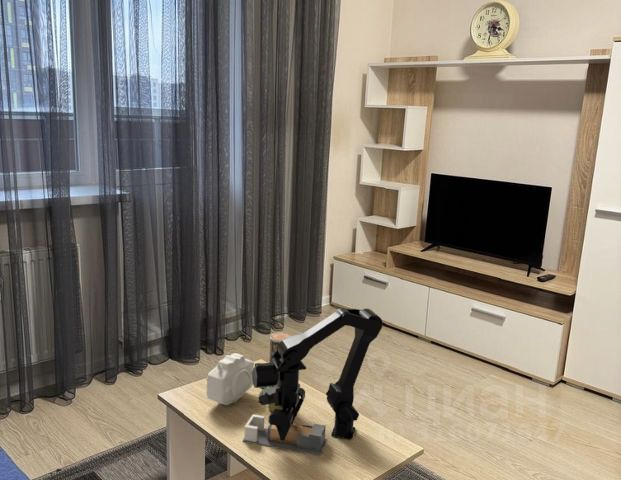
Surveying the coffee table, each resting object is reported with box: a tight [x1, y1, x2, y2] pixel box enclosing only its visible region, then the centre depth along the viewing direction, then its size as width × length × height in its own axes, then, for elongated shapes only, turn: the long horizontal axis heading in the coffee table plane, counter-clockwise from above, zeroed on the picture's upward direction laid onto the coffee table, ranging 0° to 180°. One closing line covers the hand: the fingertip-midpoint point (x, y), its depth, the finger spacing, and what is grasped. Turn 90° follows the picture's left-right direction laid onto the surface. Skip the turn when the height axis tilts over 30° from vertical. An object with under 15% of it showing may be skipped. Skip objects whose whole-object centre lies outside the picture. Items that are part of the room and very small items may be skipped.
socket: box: [243, 413, 265, 442], centre depth 175 cm, size 7×4×4 cm, turn 167°
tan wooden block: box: [267, 424, 312, 445], centre depth 172 cm, size 4×15×4 cm, turn 77°
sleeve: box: [297, 423, 326, 452], centre depth 171 cm, size 6×7×5 cm
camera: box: [206, 353, 255, 406], centre depth 193 cm, size 11×18×16 cm, turn 148°
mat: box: [242, 427, 327, 457], centre depth 173 cm, size 8×24×1 cm, turn 77°
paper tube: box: [267, 332, 292, 412], centre depth 189 cm, size 7×7×25 cm
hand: (286, 431), depth 173 cm, fingers open, 9 cm apart
